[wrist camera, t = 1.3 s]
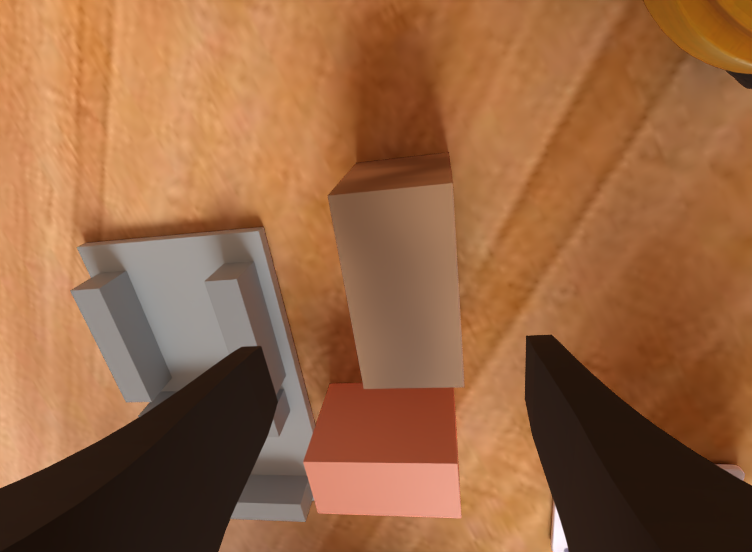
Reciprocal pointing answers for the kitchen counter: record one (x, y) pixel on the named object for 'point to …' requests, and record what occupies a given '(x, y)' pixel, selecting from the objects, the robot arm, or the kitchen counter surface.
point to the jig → (203, 339)
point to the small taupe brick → (401, 270)
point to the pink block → (385, 452)
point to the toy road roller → (710, 32)
